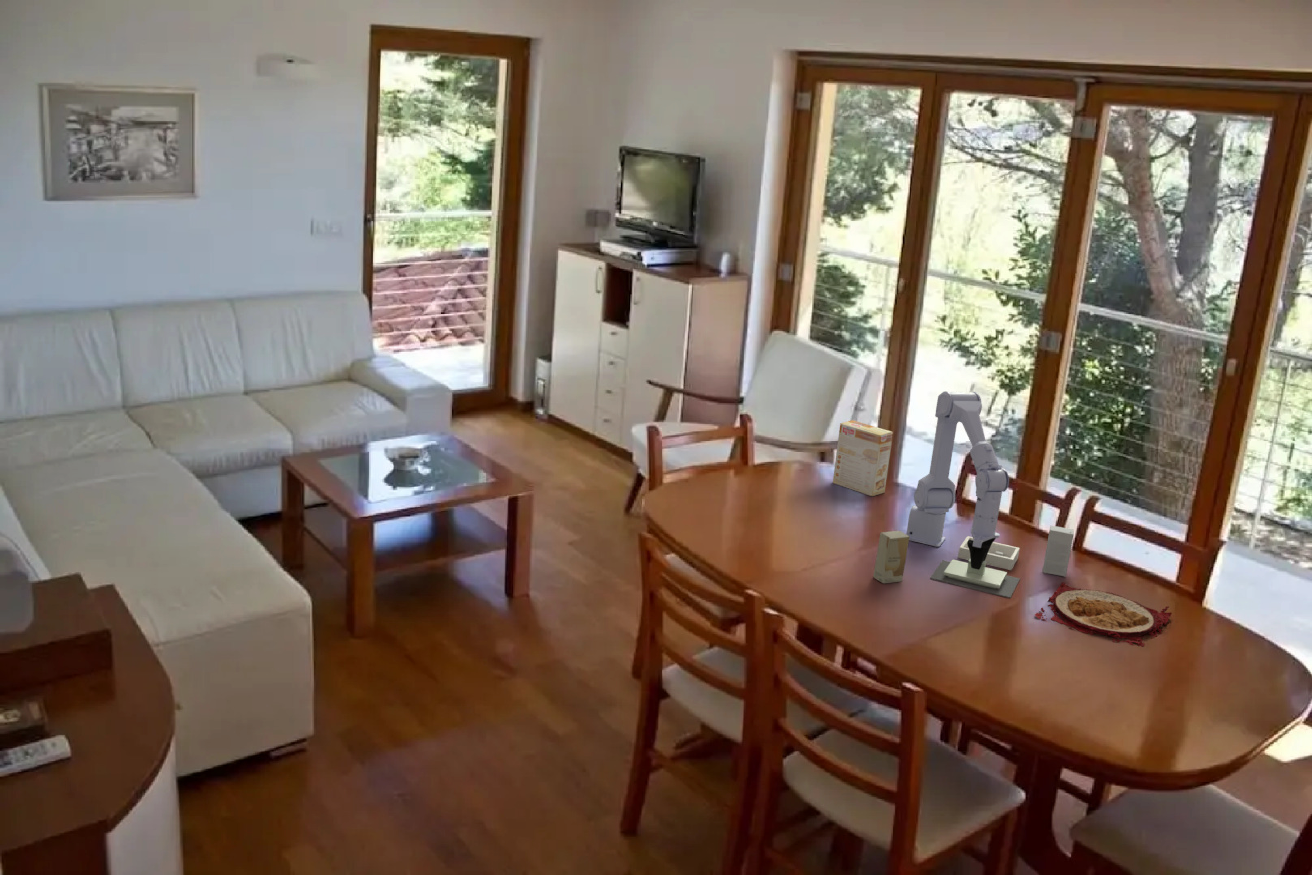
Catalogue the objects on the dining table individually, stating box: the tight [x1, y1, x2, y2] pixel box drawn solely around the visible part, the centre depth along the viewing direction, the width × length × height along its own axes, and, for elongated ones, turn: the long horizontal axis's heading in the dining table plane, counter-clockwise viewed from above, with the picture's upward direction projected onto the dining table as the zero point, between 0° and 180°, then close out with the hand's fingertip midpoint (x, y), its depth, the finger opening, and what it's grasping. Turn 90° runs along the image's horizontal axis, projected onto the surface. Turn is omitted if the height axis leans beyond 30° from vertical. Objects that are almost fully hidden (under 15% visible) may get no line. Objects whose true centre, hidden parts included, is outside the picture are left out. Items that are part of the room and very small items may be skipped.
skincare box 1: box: [872, 530, 910, 584], centre depth 302 cm, size 6×4×12 cm
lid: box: [943, 558, 1008, 589], centre depth 308 cm, size 14×10×5 cm
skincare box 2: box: [1042, 525, 1075, 577], centre depth 316 cm, size 6×4×12 cm
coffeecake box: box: [832, 419, 894, 497], centre depth 368 cm, size 15×7×20 cm, turn 46°
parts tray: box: [957, 535, 1021, 571], centre depth 323 cm, size 14×10×3 cm
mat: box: [929, 559, 1021, 599], centre depth 308 cm, size 20×14×1 cm
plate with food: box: [1034, 582, 1173, 648], centre depth 291 cm, size 25×26×4 cm
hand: (977, 564), depth 307 cm, fingers open, 5 cm apart
